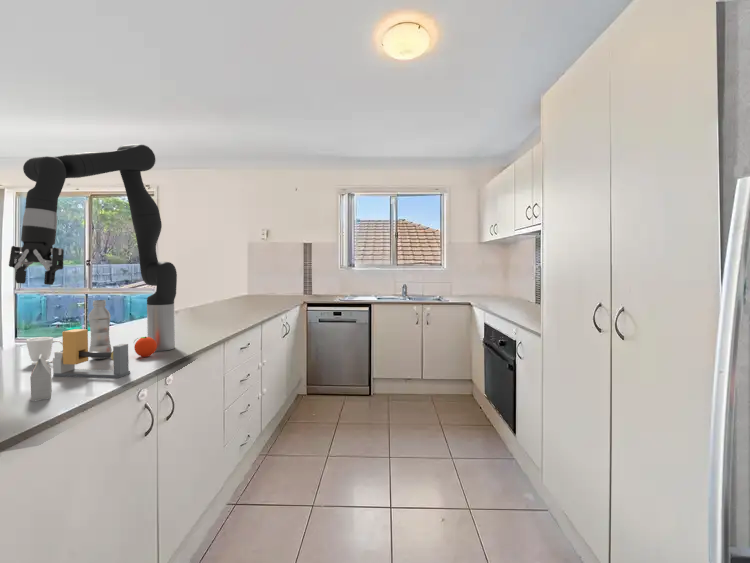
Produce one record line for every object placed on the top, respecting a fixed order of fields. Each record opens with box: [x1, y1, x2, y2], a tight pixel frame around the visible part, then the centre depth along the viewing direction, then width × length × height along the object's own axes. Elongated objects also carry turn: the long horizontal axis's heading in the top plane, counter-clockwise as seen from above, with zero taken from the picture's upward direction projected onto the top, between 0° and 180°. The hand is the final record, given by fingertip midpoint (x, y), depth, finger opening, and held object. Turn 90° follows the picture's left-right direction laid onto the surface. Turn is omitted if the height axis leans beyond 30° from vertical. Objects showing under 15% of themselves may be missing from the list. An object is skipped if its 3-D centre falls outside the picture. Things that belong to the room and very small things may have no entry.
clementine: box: [133, 336, 157, 358], centre depth 146 cm, size 8×7×7 cm
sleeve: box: [61, 328, 89, 366], centre depth 122 cm, size 4×5×10 cm
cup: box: [25, 336, 63, 366], centre depth 136 cm, size 7×10×8 cm
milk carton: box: [30, 354, 53, 402], centre depth 103 cm, size 4×7×10 cm, turn 36°
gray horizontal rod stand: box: [52, 343, 131, 379], centre depth 122 cm, size 20×5×9 cm, turn 86°
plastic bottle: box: [87, 299, 113, 360], centre depth 141 cm, size 6×7×20 cm
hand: (34, 284), depth 117 cm, fingers open, 8 cm apart
